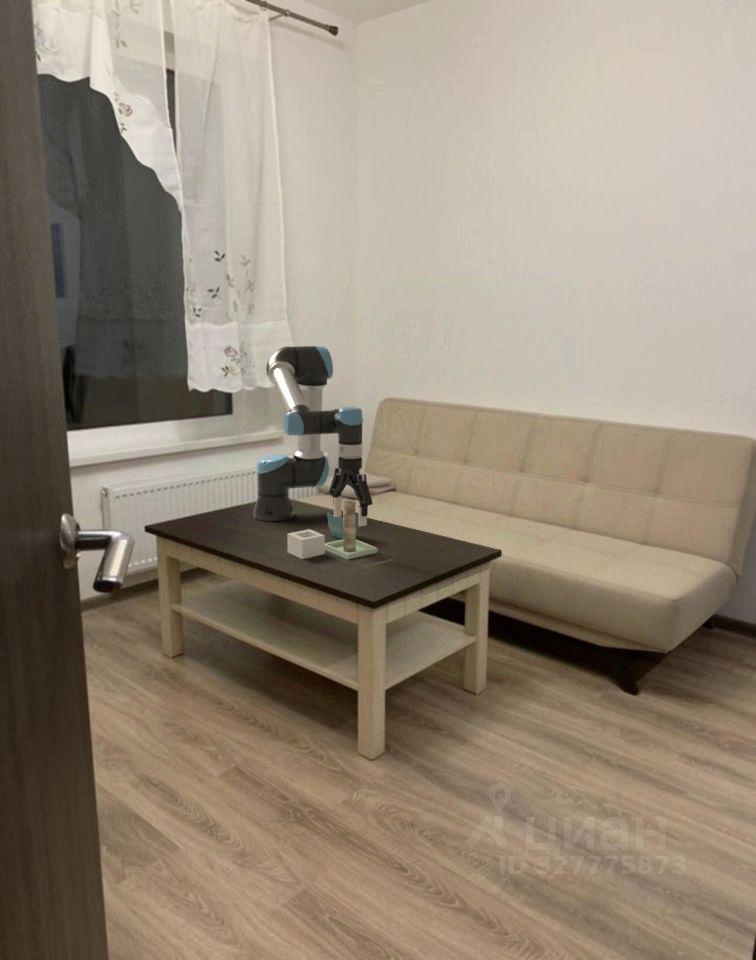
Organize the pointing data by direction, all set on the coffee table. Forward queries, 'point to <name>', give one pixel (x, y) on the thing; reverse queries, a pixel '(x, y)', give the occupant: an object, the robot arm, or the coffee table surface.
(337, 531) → the flower pot
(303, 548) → the hollow block
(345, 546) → the dowel
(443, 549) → the coffee table surface
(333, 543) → the tray
